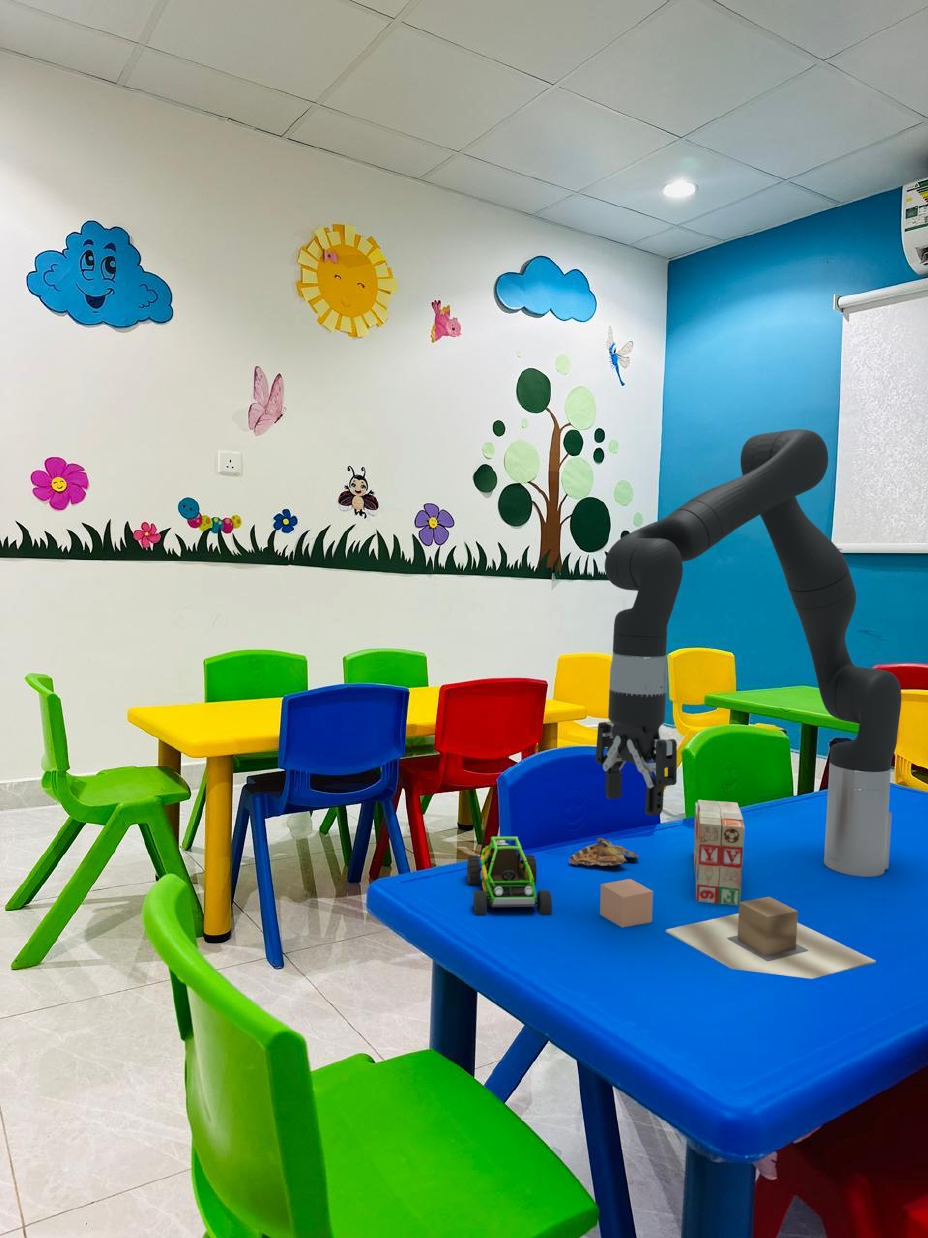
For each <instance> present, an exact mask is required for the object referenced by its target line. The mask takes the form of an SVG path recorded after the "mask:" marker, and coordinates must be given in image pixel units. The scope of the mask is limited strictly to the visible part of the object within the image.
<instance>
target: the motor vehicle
mask: <svg viewBox="0 0 928 1238" xmlns="http://www.w3.org/2000/svg"><path fill="white" fill-rule="evenodd" d="M481 831H483V834H484V835H483V836H484V837H483V839H484V840H483V848H482V850H481V854H480V857H479V856H478V855H476V854H475V855H468V857H467V862H466V866H467V867H466V873H467V874H466V877H467V878H466V879H467V883H468V885H469V886H479V885H480V883H481V886H482V889H483V890H475V891H474V892H473V899H472V907H473V909H474V915H475V916H486V915H487V906H489V907H491V908H523V907H524V908H526V907H527V908H528V907H529V908H530V907H531V908H532V907H534V908H535V906H536V907H537V909H538V911H539V914H540V915H543V916H544V915H546V916H547V915H548V916H549V915H552V912H553V911H552V909H553V899H552V894H551V892H550V890H549V889H539V890H538V891H537V892H536V884H537V876H538V875H537V874H538V872H537V871H538V870H537V860H536V856H535V855H534V854H528V855H527V854H525V853H524V851H523V849H522V848H523V847H522V845H521V842H520V841H519V837H518V836H491V837H490V842H489V845H486V844H487V843H486V832H485V831H486V830H485V819H484V818H483V819H482V822H481ZM497 841H498V843H497ZM507 841H515V843H514V844H509V843H506V842H507ZM492 849H493V851H492ZM491 851H492V852H491ZM480 864H481V865H480ZM480 881H481V882H480Z"/></svg>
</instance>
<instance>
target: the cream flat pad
mask: <svg viewBox="0 0 928 1238" xmlns="http://www.w3.org/2000/svg"><path fill="white" fill-rule="evenodd" d="M738 919H739V912H738V913H734V914H729V915H726V916H725V915H724V916H720V917H717V918H712V919H708V920H703V921H698V922H694V923H690V924H684V925H680V926H676V927H673V928H668V929H665V933H667V934H669V935H670V936H672V937H674V938H676V939H677V940H680V941H681V942H683V943H685V944H686V945H689V946H690V947H692V948H694V949H695V950H697V951H699V952H701V953H702V954H704V955H706V956H708V957H710V958H711V959H714V960H715V961H717V962H718V963H721V964H723V965H724V966H725V967H728V968H729V969H731V970H740V971H746V972H747V971H748V972H756V973H763V974H771V975H780V976H787V977H794V978H804V979H809V980H810V979H811V980H812V979H817V978H820V977H824V976H825V977H826V976H827V975H828V976H829V975H833V974H836V973H840V972H844V971H847V970H851V969H852V970H853V969H856V968H859V967H863V966H868V965H872V964H876V959H873V958H871V957H869V956H867V955H864V954H863V953H862V952H861V953H860V951H857V950H855V949H852V947H848V946H846V945H844V944H842V943H840V942H838V941H836V940H835V939H832V938H831V937H828V936H826V935H824V934H822V933H820V932H817V931H816V930H814V929H811V928H810V927H808V926H806V925H803V924H801V923H799V922H797V936H796V949H795V950H791V951H786V952H782V953H777V954H773V955H768V956H764V955H762V954H761V953H759V952H757V951H756V950H754V949H752V948H751V947H749V946H747V945H746V944H744V943H742V942H740V941H739V940H738Z"/></svg>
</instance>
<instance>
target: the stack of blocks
mask: <svg viewBox="0 0 928 1238" xmlns="http://www.w3.org/2000/svg"><path fill="white" fill-rule="evenodd" d="M745 828H746V827H745V824H744V817H743V815H742V812H741V808H740V807H739V804H738V802H733V801H731V802H730V801H719V800H718V801H717V800H707V799H706V800H705V799H704V800H703V799H698V800H697V802H695V803H694V842H693V843H694V845H693V866H694V875H695V877H694V878H695V902H697V903H699V902H700V903H710V904H716V905H718V904H719V905H729V906H737V907H739V902H741V899H742V898H741V896H742V886H741V885H742V869H743V865H744V864H743V860H744V843H745V832H746V831H745V830H746V829H745Z"/></svg>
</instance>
